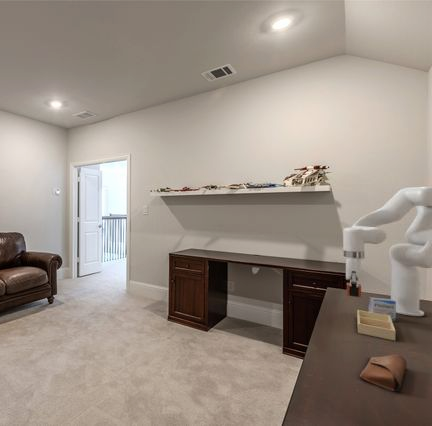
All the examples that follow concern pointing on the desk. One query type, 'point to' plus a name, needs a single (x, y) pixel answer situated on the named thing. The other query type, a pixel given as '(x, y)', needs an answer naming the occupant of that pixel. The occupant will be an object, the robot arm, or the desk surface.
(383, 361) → the sunglasses case
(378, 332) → the sorter
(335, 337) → the desk surface
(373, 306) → the medicine box
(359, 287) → the terracotta block
